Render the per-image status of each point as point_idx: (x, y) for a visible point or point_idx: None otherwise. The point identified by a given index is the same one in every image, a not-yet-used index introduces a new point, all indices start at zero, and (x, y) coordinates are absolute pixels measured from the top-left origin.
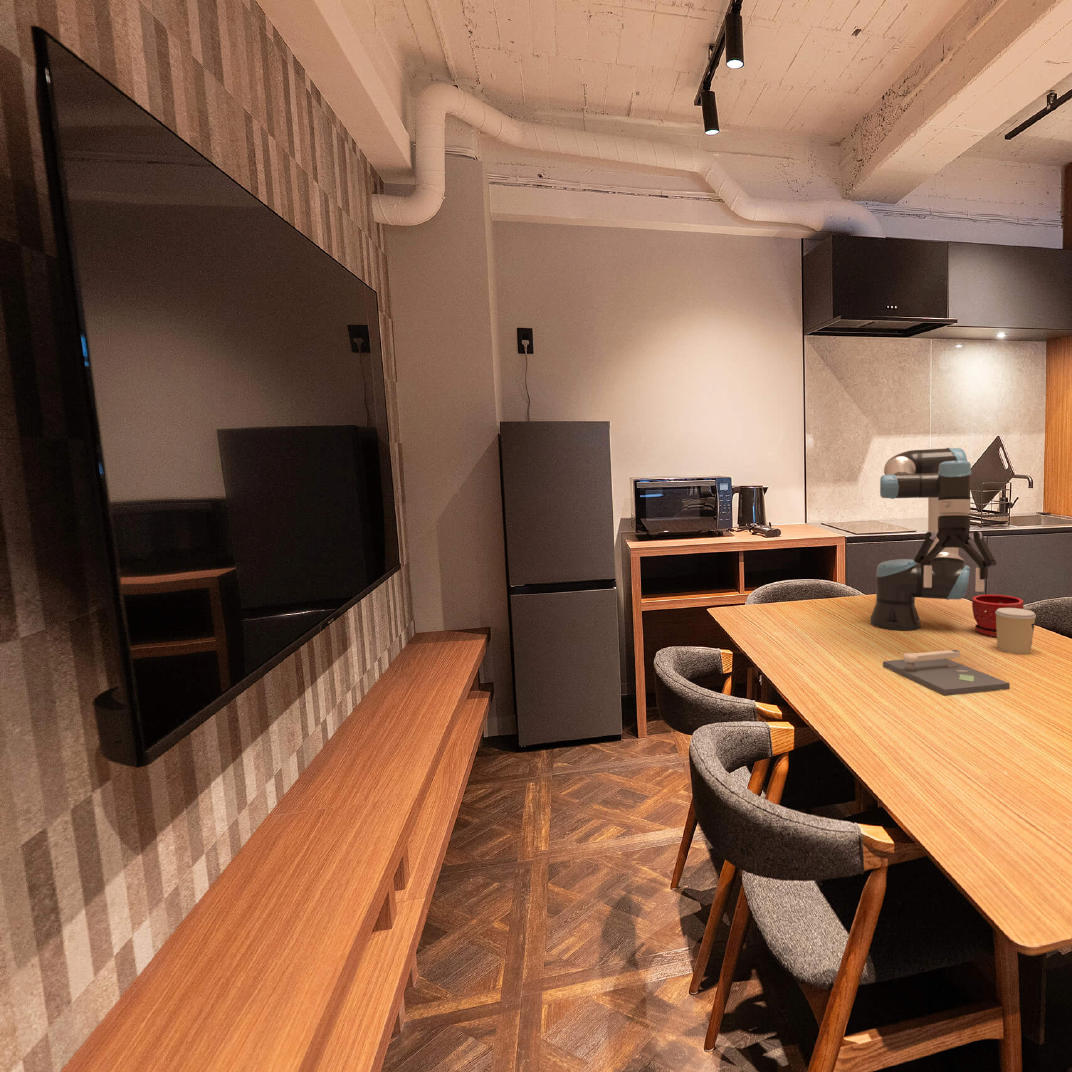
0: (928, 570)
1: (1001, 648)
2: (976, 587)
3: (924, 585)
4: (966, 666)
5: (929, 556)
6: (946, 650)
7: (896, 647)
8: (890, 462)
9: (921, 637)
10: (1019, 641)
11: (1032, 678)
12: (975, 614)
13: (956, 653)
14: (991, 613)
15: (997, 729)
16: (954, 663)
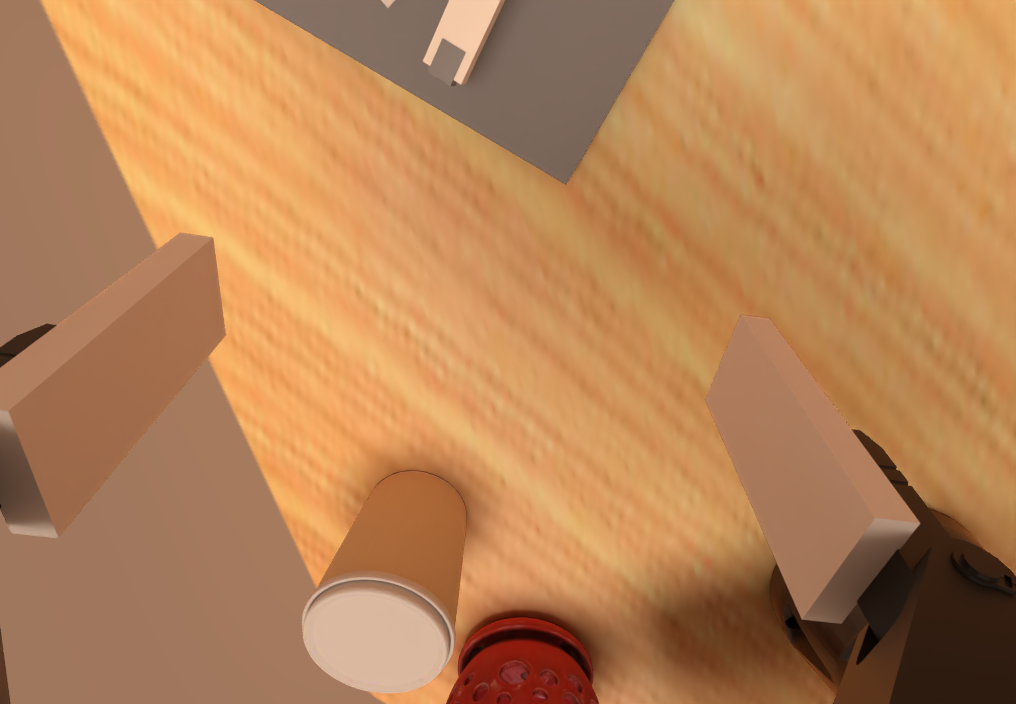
0: (807, 492)
1: (440, 483)
2: (178, 252)
3: (767, 326)
4: (420, 94)
5: (930, 695)
6: (483, 33)
7: (788, 256)
8: None
9: (730, 473)
10: (372, 506)
11: (230, 203)
12: (585, 694)
13: (434, 37)
14: (517, 691)
15: None
16: (475, 103)
